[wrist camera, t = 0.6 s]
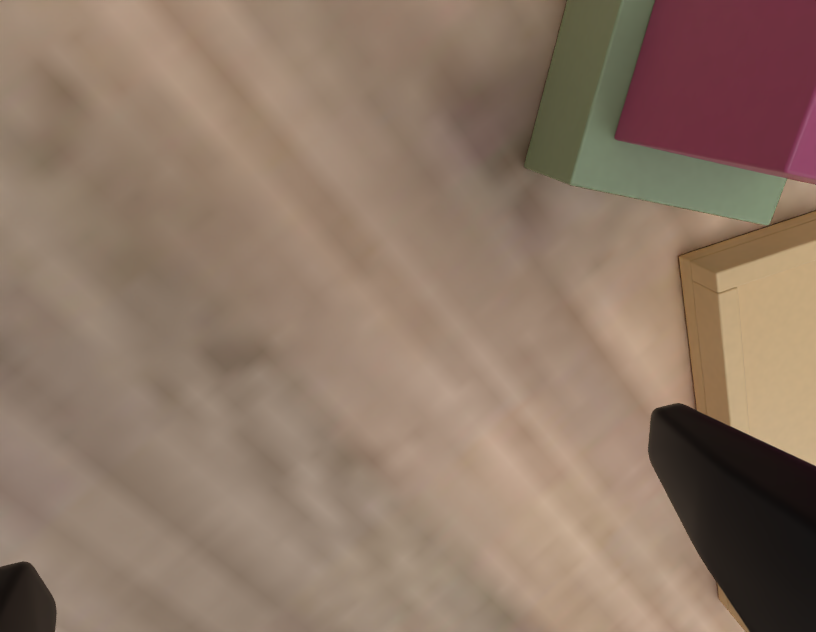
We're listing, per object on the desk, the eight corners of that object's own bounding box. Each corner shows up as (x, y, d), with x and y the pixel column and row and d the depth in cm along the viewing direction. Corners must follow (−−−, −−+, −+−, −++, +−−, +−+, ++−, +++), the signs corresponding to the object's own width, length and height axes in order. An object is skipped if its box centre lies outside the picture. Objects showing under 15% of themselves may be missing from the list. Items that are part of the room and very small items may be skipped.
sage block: (696, 203, 25) (770, 226, 21) (522, 167, 23) (569, 185, 19) (766, 0, 22) (862, -14, 19) (580, -56, 21) (645, -83, 17)
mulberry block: (763, 173, 20) (991, 221, 14) (612, 139, 19) (783, 173, 12) (815, 35, 19) (1091, 15, 12) (657, -12, 18) (873, -61, 11)
